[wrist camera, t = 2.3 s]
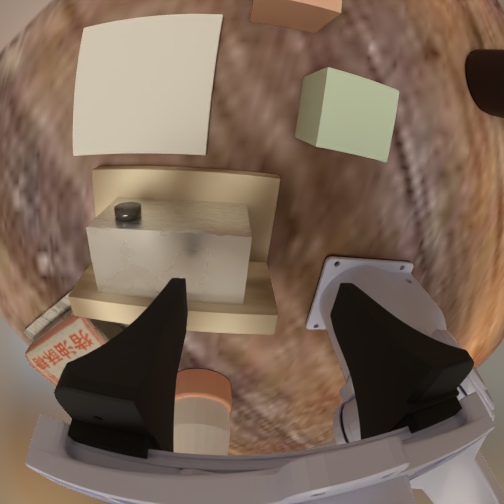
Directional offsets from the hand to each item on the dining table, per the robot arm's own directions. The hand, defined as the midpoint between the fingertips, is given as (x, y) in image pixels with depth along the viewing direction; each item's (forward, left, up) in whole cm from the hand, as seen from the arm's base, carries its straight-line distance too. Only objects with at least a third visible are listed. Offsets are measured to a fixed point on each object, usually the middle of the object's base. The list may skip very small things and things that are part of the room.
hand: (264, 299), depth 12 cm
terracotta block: (0, -17, -9) cm, 19 cm away
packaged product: (+17, +15, -10) cm, 24 cm away
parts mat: (+9, -10, -9) cm, 16 cm away
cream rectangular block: (+5, 0, -8) cm, 9 cm away
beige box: (+5, 0, -9) cm, 10 cm away
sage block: (-4, -9, -9) cm, 13 cm away
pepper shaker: (+4, +21, -9) cm, 23 cm away
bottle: (-20, -18, -9) cm, 29 cm away
